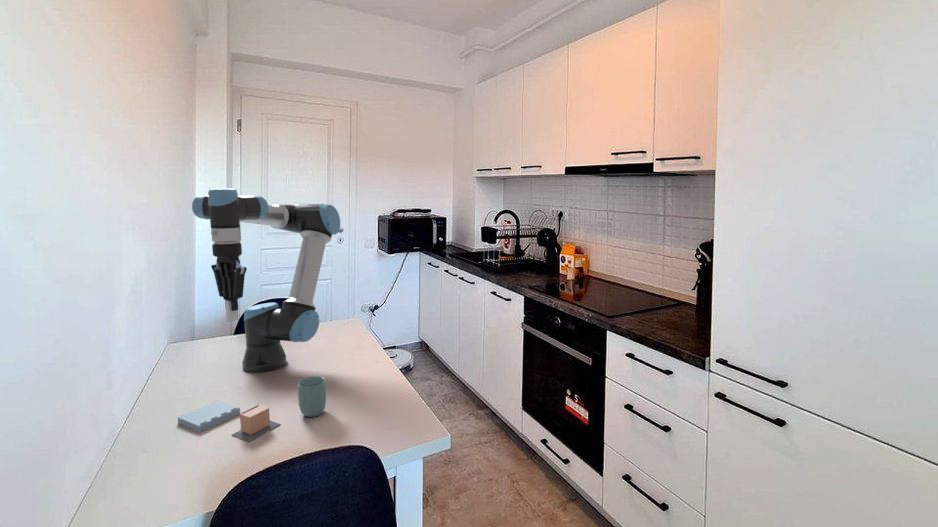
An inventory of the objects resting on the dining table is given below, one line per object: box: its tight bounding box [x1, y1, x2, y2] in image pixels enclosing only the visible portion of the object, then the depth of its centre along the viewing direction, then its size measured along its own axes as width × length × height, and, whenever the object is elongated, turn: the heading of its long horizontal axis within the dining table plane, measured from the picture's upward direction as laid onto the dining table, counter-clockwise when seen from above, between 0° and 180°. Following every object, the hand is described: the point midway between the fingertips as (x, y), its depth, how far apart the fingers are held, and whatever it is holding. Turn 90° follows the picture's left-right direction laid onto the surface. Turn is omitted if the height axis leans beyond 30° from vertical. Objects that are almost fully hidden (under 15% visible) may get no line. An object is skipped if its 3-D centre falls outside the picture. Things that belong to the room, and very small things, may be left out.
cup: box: [297, 375, 327, 418], centre depth 131 cm, size 8×8×10 cm
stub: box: [239, 404, 271, 435], centre depth 122 cm, size 4×6×5 cm, turn 153°
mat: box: [231, 420, 281, 443], centre depth 123 cm, size 7×10×1 cm
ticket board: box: [177, 400, 241, 433], centre depth 129 cm, size 10×12×2 cm
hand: (232, 320), depth 134 cm, fingers closed
